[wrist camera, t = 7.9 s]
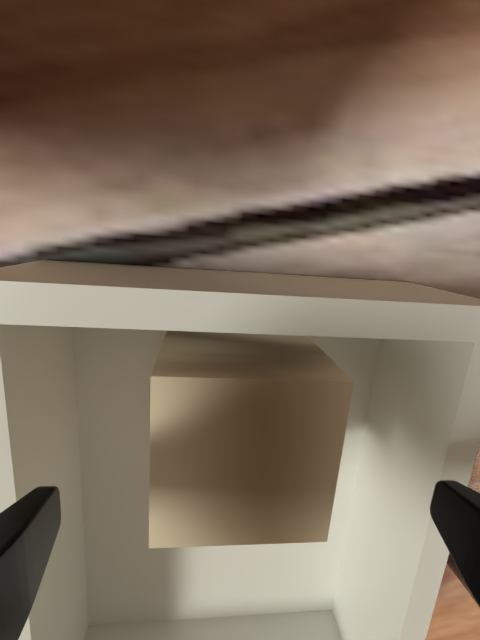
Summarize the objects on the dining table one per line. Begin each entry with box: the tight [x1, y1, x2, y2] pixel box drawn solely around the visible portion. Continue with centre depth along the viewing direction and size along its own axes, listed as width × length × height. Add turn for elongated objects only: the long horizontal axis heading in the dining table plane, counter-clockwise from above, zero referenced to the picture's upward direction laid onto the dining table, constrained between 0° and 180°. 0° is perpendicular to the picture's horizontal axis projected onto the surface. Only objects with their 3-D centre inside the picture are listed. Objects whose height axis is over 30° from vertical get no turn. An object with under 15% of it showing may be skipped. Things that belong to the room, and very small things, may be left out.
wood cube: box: [149, 331, 354, 548], centre depth 11 cm, size 5×5×5 cm
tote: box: [0, 260, 480, 640], centre depth 13 cm, size 18×14×5 cm
